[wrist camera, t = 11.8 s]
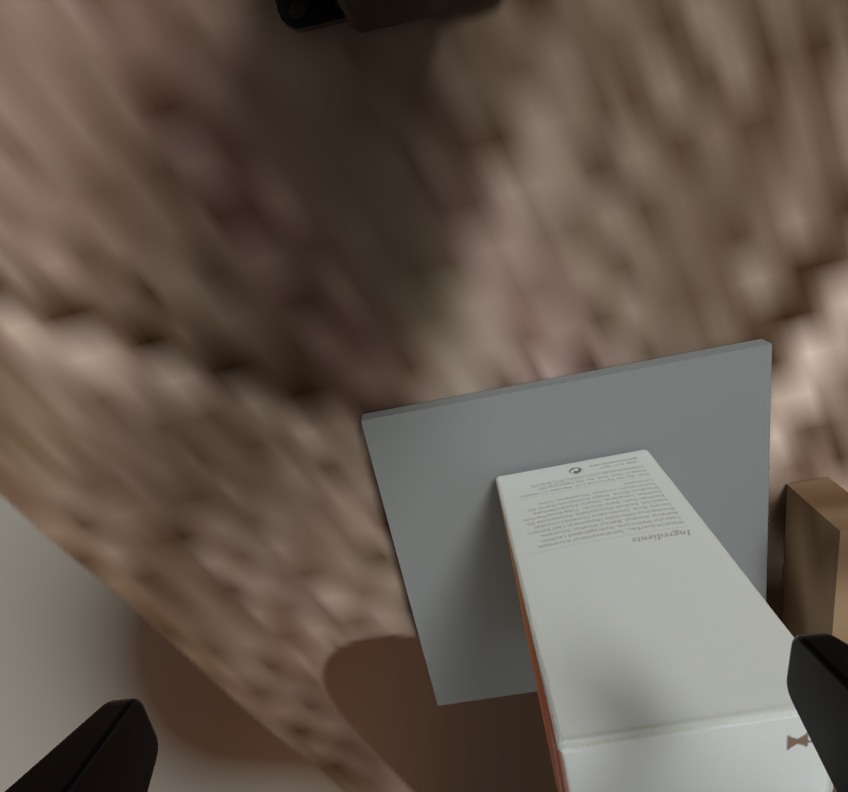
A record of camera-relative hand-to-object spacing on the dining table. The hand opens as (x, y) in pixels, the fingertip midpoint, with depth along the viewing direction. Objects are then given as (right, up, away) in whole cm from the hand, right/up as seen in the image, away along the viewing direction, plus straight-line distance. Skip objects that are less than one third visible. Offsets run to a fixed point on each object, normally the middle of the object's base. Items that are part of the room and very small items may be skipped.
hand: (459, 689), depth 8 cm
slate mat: (+6, -2, +15) cm, 16 cm away
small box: (+6, -2, +14) cm, 15 cm away
